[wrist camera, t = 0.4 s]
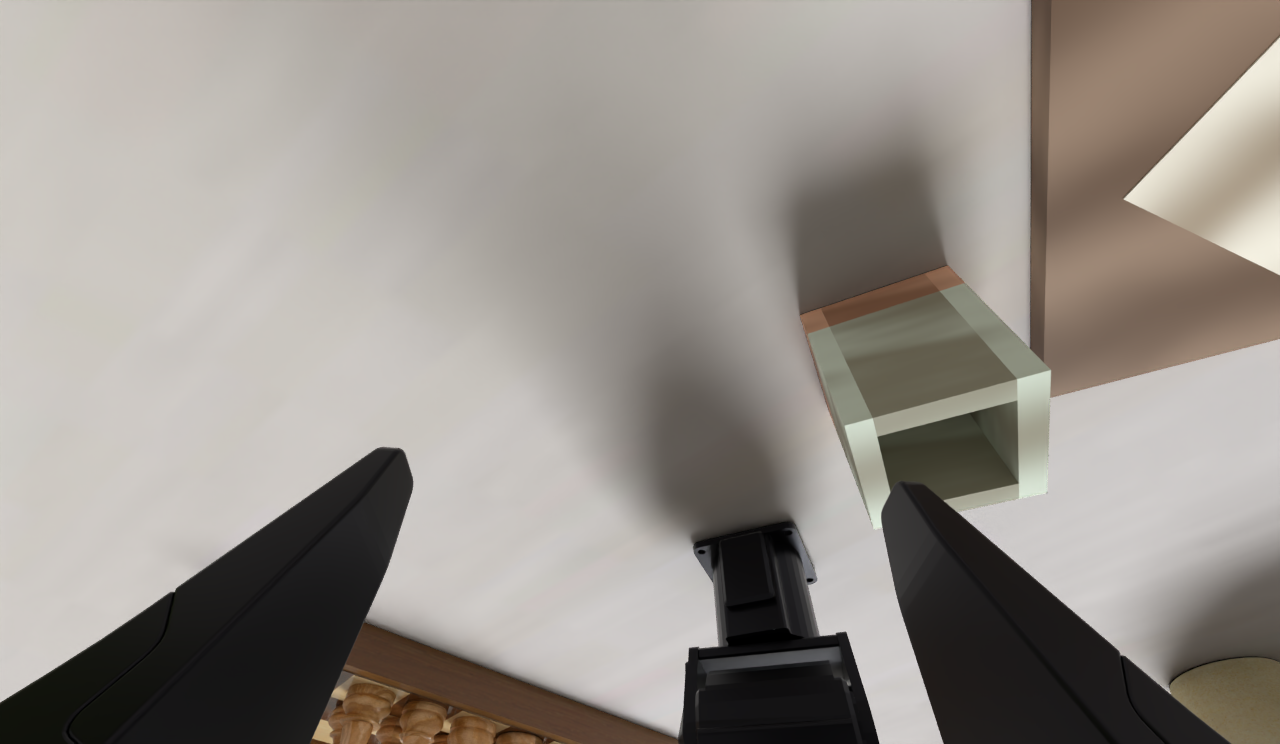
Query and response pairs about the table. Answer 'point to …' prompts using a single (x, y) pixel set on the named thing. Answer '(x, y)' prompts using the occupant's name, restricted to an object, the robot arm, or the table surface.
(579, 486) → the table surface
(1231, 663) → the plant pot
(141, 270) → the table surface
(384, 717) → the chess set
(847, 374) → the sleeve
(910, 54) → the table surface
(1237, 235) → the pin board
